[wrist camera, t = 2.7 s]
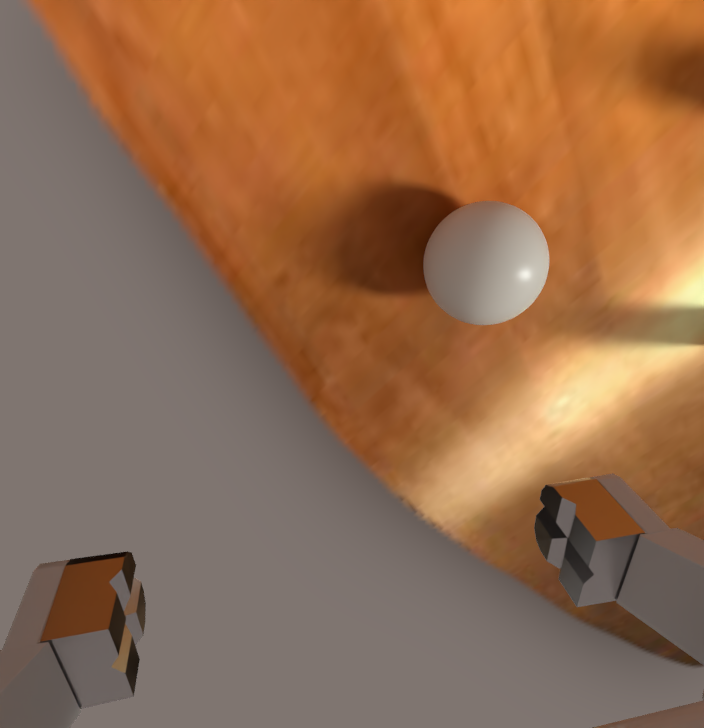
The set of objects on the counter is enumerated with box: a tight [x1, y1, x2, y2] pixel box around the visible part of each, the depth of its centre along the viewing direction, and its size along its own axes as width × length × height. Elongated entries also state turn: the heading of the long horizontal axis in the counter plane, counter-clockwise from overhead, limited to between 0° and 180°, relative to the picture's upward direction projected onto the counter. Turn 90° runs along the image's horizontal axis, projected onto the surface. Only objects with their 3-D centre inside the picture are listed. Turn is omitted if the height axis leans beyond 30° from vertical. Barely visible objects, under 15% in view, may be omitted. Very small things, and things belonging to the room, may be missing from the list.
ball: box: [423, 201, 549, 325], centre depth 24 cm, size 6×6×6 cm
